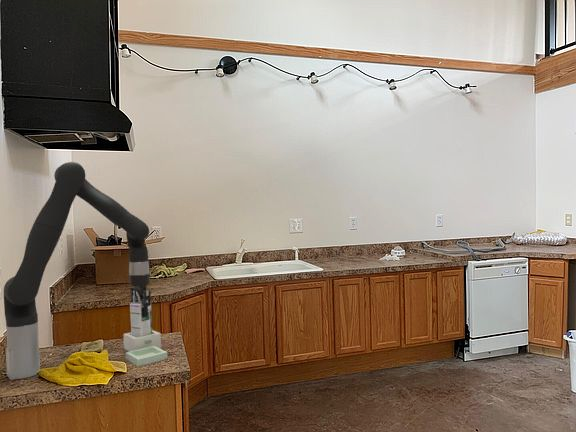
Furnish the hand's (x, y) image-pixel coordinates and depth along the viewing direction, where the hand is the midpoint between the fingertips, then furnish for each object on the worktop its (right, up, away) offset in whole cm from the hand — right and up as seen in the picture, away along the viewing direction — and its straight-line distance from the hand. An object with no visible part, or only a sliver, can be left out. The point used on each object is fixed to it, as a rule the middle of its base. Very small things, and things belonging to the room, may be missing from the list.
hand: (141, 315), depth 175 cm
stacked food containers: (+1, -13, 0) cm, 13 cm away
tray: (+6, -13, -12) cm, 19 cm away
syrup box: (0, -10, 0) cm, 10 cm away
